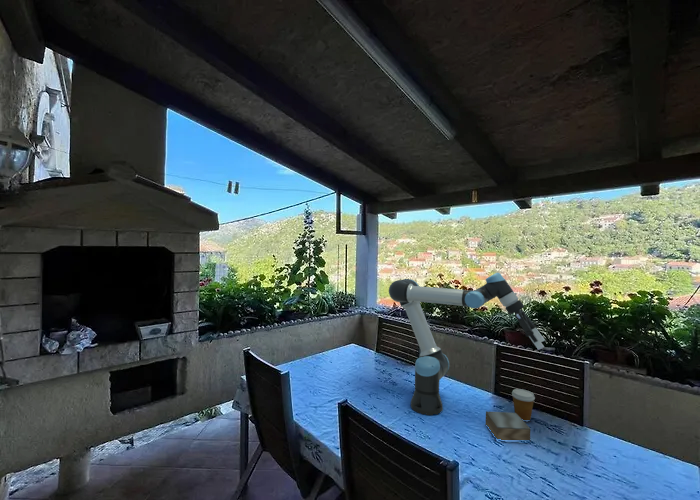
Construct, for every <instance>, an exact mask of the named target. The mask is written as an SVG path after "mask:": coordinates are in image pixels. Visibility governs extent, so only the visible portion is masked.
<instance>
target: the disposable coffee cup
mask: <svg viewBox="0 0 700 500" xmlns="http://www.w3.org/2000/svg"><path fill="white" fill-rule="evenodd" d="M511 395H512V400H513V409H514V413H516V414H517V415H518V416H519V417H520V418H521V419H523V420H530V419H532V414H533V407H534V403H535V402H534V401H535V399H536V397H535V394H534V393H533V392H531V391H529V390H526V389H522V388H515V389H513V390H512V392H511Z"/></svg>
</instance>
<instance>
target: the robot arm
mask: <svg viewBox="0 0 700 500" xmlns="http://www.w3.org/2000/svg"><path fill="white" fill-rule="evenodd" d="M485 282H486V283H485V284H483V285H482V286H480V287H478V288H476V289H474V290H472V289H471V290H470V289H469V290H468V289H457V288H456V289H455V288H443V287H433V286H432V287H431V286H421V285H419V284H418V282H417V281H416V280H413V279H410V278H404V279H399V280H394V281H393V282H391V284H390V285H389V288H388V294H389V296H390V299H392V300H393V301H394V302H396V303H399V305H400V307H401V308H403V309H404V311H405V313H406V315H407V317H408V320H409V323H410V325H411V326H410V327H411V329H412V331H413V334H414V336H415V339H416V340H417V341H416V342H417V344H418V346H419V349H420V354H419V357H418V358H417V359H416V360H415V365H414V392H413V393H412V397H411V400H410V407H411V409H412V410H413V411H414V412H416V413H418V414H420V413H421V414H420V415H424V414H426V416H434V415H433V414H437V415H439V414H438V413H440V412H441V411H442V412H443V402H442V399H441V398H442V397H441V396H440V380H441V379H442V378H443V377H444V376H445V375H447V373H448V371H449V369H450V361H449V358H448V357H447V355H446V354H444V353H443V351H442V349H441V347H439V346H437V343H436V342H435V339H434V336H433V334H432V331H431V328H430V325H429V324H428V321H427V319H426V316H425V313H424V310H423V309H422V306H421V302H422V303H431V304H442V305H451V306H452V305H453V306H461V307H468V308H470V309H479V308H480V307H482V306H483V305H485V304H486V303H488V302H490V301H491V300H493V299H495V298H497V299H498V300H499V302H500V303H501V305H502V306H503V307H505V310H506V312H507V313H508V314H509V315H512V314H514V318H515V319H516V320H517V322H518V323H519V325H520V327H521V328H522V330H523V331H524V333H525V337H526V338H527V337H528V338H529V339H530V340H531V342H532V344H534V346H535V348H537V350H538V351H539V350H541V349H544V348H545V346H544V344H543V343H542V342H545V341H546V339H545V338H544V337H543V336H542V334H541V333H540V331H539V330H538V329H537V327H538V326H537V324H535V323H534V322H533V321H532V320H531V318H530V317H528V315H527V313H526V312H525V311H524V310H523V308H525V305H524V303H522V300H520V299H519V297H518V296H517V294H518V293H517V292H515V291H514V290H513V289H512V287H511V286H510V284H509V283H508V282H507V280H506V278H505V277H503V275H502V274H501V273H500V272H495V273H493V274H492V275H490V276H488V277H487V278H485ZM442 412H441V413H442ZM441 413H440V414H441Z"/></svg>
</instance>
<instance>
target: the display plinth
mask: <svg viewBox="0 0 700 500" xmlns="http://www.w3.org/2000/svg"><path fill="white" fill-rule="evenodd" d="M486 425H487V426H488V427H489V429H490V430H491V432H492V433H493V434H494V436H495V437H496V438H497V439H501V440H530V441H531V427H530V426H529V425H528V424H527V422H524V421H523V420H522V419H521V418H520V417H519V416H518V415H517V414H516V413H515V412H504V411H503V412H502V411H489V410H488V411H485V426H486ZM487 426H486V427H487ZM489 429H488V430H489ZM491 432H490V433H491Z"/></svg>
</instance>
